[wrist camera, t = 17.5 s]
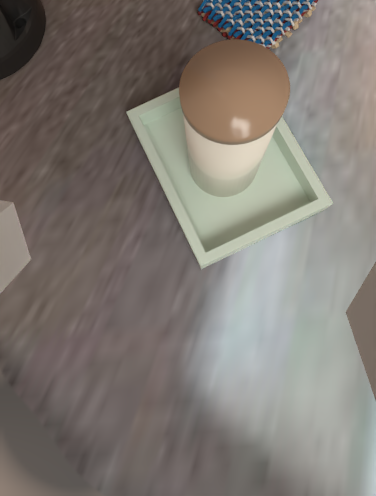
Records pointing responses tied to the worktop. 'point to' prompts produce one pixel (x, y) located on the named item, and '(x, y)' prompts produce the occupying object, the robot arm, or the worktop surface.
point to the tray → (234, 207)
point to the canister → (231, 112)
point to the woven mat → (256, 18)
